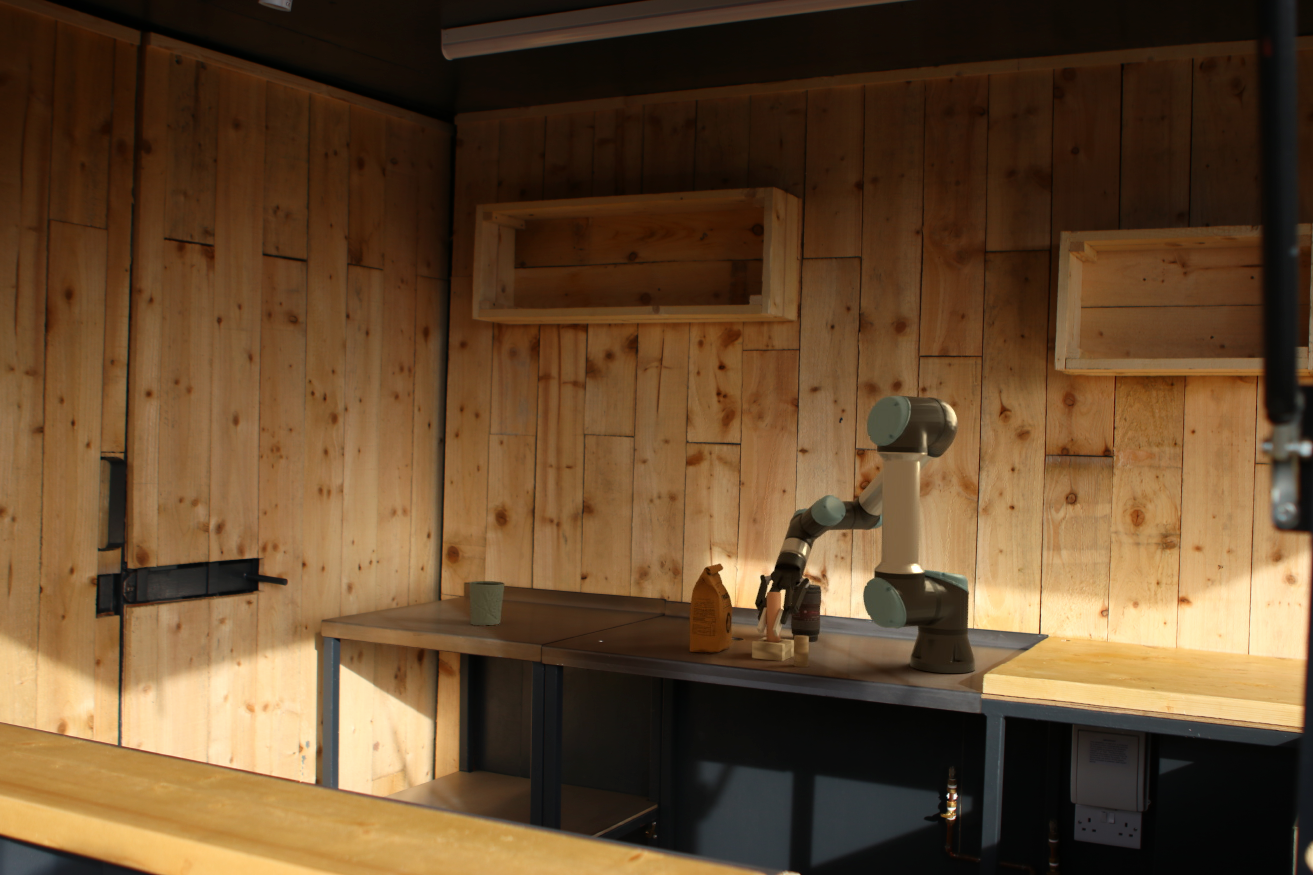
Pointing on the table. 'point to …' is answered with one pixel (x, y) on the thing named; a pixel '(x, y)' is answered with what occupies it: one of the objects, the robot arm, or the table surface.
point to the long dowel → (772, 615)
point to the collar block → (773, 649)
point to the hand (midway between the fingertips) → (767, 632)
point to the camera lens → (807, 614)
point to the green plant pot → (486, 602)
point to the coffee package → (710, 613)
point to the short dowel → (801, 651)
